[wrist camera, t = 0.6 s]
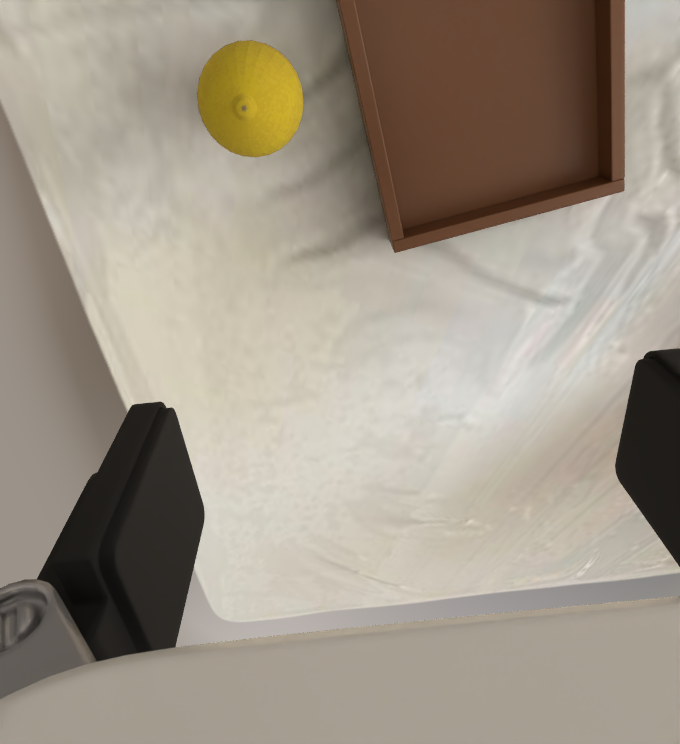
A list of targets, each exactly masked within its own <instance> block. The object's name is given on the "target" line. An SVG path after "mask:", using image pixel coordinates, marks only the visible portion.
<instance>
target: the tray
mask: <svg viewBox="0 0 680 744" xmlns="http://www.w3.org/2000/svg"><path fill="white" fill-rule="evenodd" d="M336 3H337V8H338V12H339V16H340V21H341V25H342V30H343V34H344V39H345V43H346V48H347V52H348V57H349V61H350V66H351V70H352V75H353V79H354V83H355V88H356V92H357V97H358V101H359V106H360V110H361V115H362V119H363V124H364V128H365V133H366V137H367V142H368V146H369V150H370V155H371V159H372V164H373V168H374V173H375V177H376V182H377V186H378V191H379V195H380V200H381V204H382V209H383V213H384V217H385V222H386V226H387V231H388V235H389V240H390V243H391V245H392V248H393V250H394V252H395V253H396V252H400V251H403V250H407V249H411V248H415V247H418V246H422V245H426V244H429V243H433V242H437V241H441V240H444V239H448V238H452V237H455V236H459V235H463V234H467V233H470V232H474V231H478V230H481V229H485V228H489V227H493V226H496V225H500V224H504V223H507V222H511V221H515V220H519V219H522V218H526V217H530V216H533V215H537V214H541V213H545V212H548V211H552V210H556V209H559V208H563V207H567V206H571V205H574V204H578V203H582V202H585V201H589V200H593V199H597V198H600V197H604V196H608V195H611V194H615V193H619V192H623V191H624V177H625V0H336Z"/></svg>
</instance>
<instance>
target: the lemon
mask: <svg viewBox="0 0 680 744" xmlns="http://www.w3.org/2000/svg"><path fill="white" fill-rule="evenodd" d="M197 97H198V107H199V111H200V115H201V118H202V121H203V123H204V125H205V126H206V128H207V130H208V131H209V133H210V135H211V136H212V137H213V138H214V139H215V140H216V141H217V142H218V143H219V144H220V145H221V146H223V147H224V148H226V149H227V150H229V151H230V152H233V153H236V154H239V155H242V156H248V157H260V156H265V155H269V154H271V153H273V152H275V151H277V150H280V149H281V148H282V147H283V146H284V145H286V144H287V143H288V142H289V141H290V140H291V138H292V137H293V135H294V134H295V132H296V131H297V129H298V127H299V124H300V121H301V118H302V113H303V103H304V101H303V93H302V86H301V84H300V81H299V78H298V75H297V73H296V71H295V70H294V68H293V67H292V65H291V64H290V62H289V61H288V60H287V59H286V58H285V57H284V56H283V55H282V54H281V53H280V52H279V51H277V50H276V49H274V48H272V47H270V46H268V45H267V44H264V43H260V42H256V41H237V42H234V43H231V44H229V45H226V46H224V47H223V48H221V49H220V50H218V51H217V52H216V53H214V54H213V55H212V57H211V58H210V59H209V61H208V62H207V63H206V65H205V66H204V69H203V71H202V74H201V76H200V79H199V84H198V92H197Z"/></svg>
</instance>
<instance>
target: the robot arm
mask: <svg viewBox="0 0 680 744" xmlns="http://www.w3.org/2000/svg"><path fill="white" fill-rule="evenodd" d="M615 468H616V474H617V477H618V479H619V481H620V483H621V484H622V486H623V487H624V488H625V490H626V491H627V493H628V494H629V495H630V497H631V498H632V500H633V501H634V503H635V504H636V505H637V507H638V508H639V510H640V511H641V512H642V514H643V515H644V517H645V518H646V520H647V521H648V522H649V524H650V525H651V527H652V528H653V529H654V531H655V532H656V534H657V535H658V537H659V538H660V539H661V541H662V542H663V544H664V545H665V546H666V548H667V549H668V551H669V552H670V554H671V555H672V556H673V558H674V559H675V561H676V562H677V563H678V565H679V566H680V349H668V350H659V351H650V352H648V353H646V355H645V356H644V359H641V360H639V361H638V362H637V363H636V366H635V370H634V375H633V380H632V385H631V390H630V394H629V399H628V404H627V409H626V414H625V419H624V424H623V429H622V434H621V439H620V443H619V448H618V453H617V458H616V464H615ZM203 524H204V506H203V502H202V499H201V495H200V492H199V489H198V485H197V482H196V479H195V475H194V472H193V469H192V465H191V462H190V459H189V455H188V452H187V448H186V445H185V442H184V438H183V435H182V432H181V428H180V425H179V422H178V418H177V415H176V412H175V410H174V409H173V408H166V406H165V405H164V403H162V402H153V403H143V404H135V405H132V406H131V408H130V410H129V411H128V413H127V415H126V417H125V420H124V422H123V423H122V425H121V427H120V429H119V431H118V433H117V435H116V437H115V439H114V441H113V443H112V445H111V447H110V449H109V451H108V453H107V455H106V457H105V459H104V461H103V463H102V465H101V467H100V469H99V471H98V472H97V473H95V474H93V475H92V476H91V477H90V479H89V480H88V482H87V484H86V486H85V488H84V490H83V492H82V493H81V495H80V497H79V499H78V501H77V503H76V505H75V507H74V509H73V511H72V513H71V515H70V516H69V518H68V520H67V522H66V524H65V526H64V528H63V530H62V532H61V534H60V536H59V538H58V540H57V541H56V544H55V545H54V547H53V549H52V551H51V553H50V555H49V557H48V559H47V561H46V563H45V565H44V566H43V569H42V570H41V572H40V574H39V576H38V578H37V579H35V580H22V581H18V582H15V583H11V584H8V585H6V586H4V587H2V588H0V744H680V596H677V597H666V598H655V599H644V600H633V601H622V602H611V603H600V604H589V605H578V606H568V607H558V608H547V609H537V610H528V611H516V612H506V613H495V614H485V615H475V616H466V617H455V618H444V619H436V620H435V619H434V620H424V621H414V622H404V623H394V624H384V625H375V626H366V627H356V628H345V629H336V630H326V631H316V632H307V633H298V634H287V635H277V636H268V637H259V638H250V639H242V640H235V641H234V640H233V641H225V642H217V643H208V644H200V645H192V646H184V647H175V646H176V641H177V637H178V633H179V628H180V624H181V620H182V616H183V611H184V607H185V603H186V598H187V594H188V589H189V585H190V581H191V576H192V572H193V568H194V564H195V559H196V555H197V551H198V546H199V542H200V537H201V533H202V529H203Z"/></svg>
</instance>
